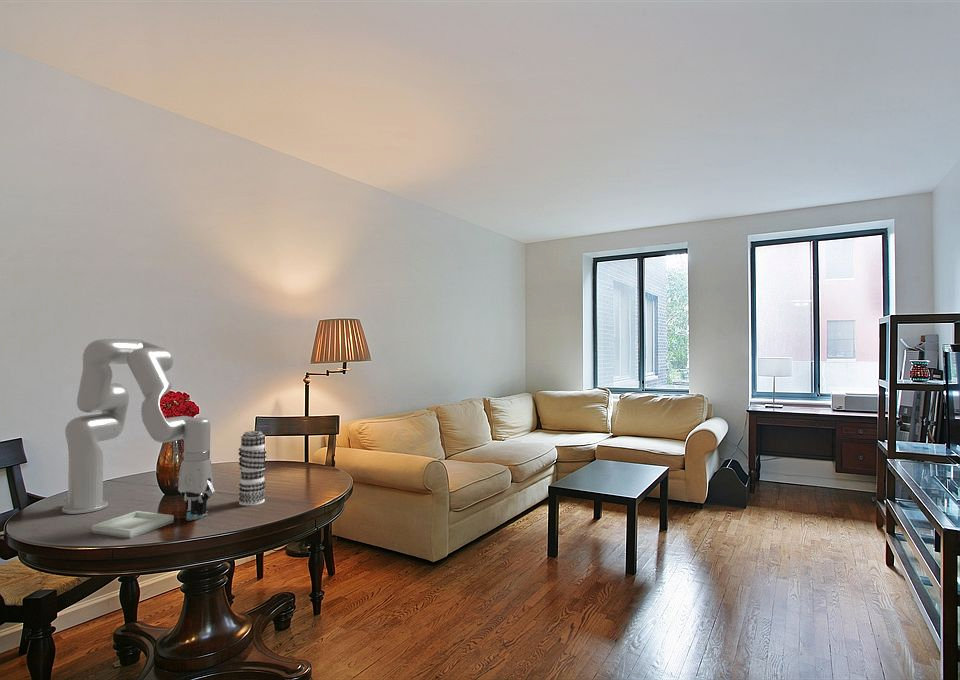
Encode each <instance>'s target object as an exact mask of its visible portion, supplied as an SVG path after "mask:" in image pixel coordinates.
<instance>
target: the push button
mask: <svg viewBox="0 0 960 680" xmlns="http://www.w3.org/2000/svg"><path fill="white" fill-rule="evenodd" d="M185 493H186V496H187V497H188V509H187V511H186V510H185V513H184V515H185V516H184V519H185V520H186V521H187V522H189V521H193V520H194V521H195V520H198V519H203V518H204V516H207V515H209V514H208V512H209V511H207V510H206V513H204V514H202V515H197V503H199V498H198V496H199V494H195V493H190V492H185ZM202 495H203V496H204V494H202ZM191 498H192V500H191Z"/></svg>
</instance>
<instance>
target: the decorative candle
mask: <svg viewBox="0 0 960 680" xmlns="http://www.w3.org/2000/svg"><path fill="white" fill-rule="evenodd" d="M265 437H266V435H265V434H263V432H262V431H260V430H250V431H245V432H244V433H243V435H241V436H240V439H241V441H240V442H241V444H240V447H239V448H238V450H239V452H238V456H239V458H238V460H239V462H238V465H239V466H240V467H239V471H240V479H239V481H240V483H239V489H238V490H239V491H240V492H239V493H238V496H239V497H238V500H239V502H238V503H239V504H238V505H241V506H246V507H247V506H249V507H250V506H257V505H261V504H263V503H264V502H265V501H266V499H265V498H266V495H265V493H266V491H265V488H266V486H265V484H266V481H265V475H264V473H265V472H264V470H266V465H265V464H266V463H267V461H265V459H266V458H267V456H266V454H267V451H265V447H266V446H265V445H266V444H265Z"/></svg>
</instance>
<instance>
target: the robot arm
mask: <svg viewBox="0 0 960 680" xmlns="http://www.w3.org/2000/svg"><path fill="white" fill-rule="evenodd" d="M173 358H174V357H173V355H172V353H171V352H170V351H169V350H168V349H166V348H164V347H162V346H159V345H156V344H153V343H150V342H147V341H144V340H140V339H131V338H130V339H129V338H125V339H124V338H102V339H95V340H93V341H90V343H88V345H86V347H85V349H84V350H83V353H82V372H81V377H80V382H79V388H78V393H77V398H76V405H77V408H78V410H79V411H80V412H83V413H95V414H88V415H81V416H78V417H75V418H73V419H71V420H70V421H69V422H68V423H67V424H66V426H65V431H64V434H65V439H66V443H67V449H68V489H67V493H68V494H67V495H66V496H64V497H62V502H66V505H65V506H63V507H62V510H61V511H62V513H64V514H69V515H75V514H77V515H78V514H86V513H92V512H96V511H100V510H104V509H105V508H106V507H108V505H109V502H108V501H107V500H104V496H103V492H104V491H103V490H104V488H103V487H104V453H103V451H102V449H101V447H100V445H99V444H98V443H100V442H104V441H109V440H113V439H116V438H117V437H119V436H120V434H121V433H122V432H123V430H124V427H125V422H126V418H127V412H128V408H129V402H130V395H129V391H128V389H127V388H126V386H125V385H123V384H121V383H117V382H112V379H113V370H112V367H111V366H110V365H125V364H127V365H128V367H129V369H130V372H131V373H132V375H133V376H134V379H135V381H136V383H137V385H138V387H139V388H140V390H141V393H142V395H143V400H142V403H141V408H140V409H141V411H140V416H141V421H142V424H143V425H144V428H145V430H146V431H147V433H148V435H149V436H150V438H152V439H153V440H154V441H155V442H156V443H157V442H158V443H160V444H162V443H163V444H164V443H165V444H166V443H169V442H174V441H179V440H183V452H182V457H183V460H182V461H181V464H180V467H179V473H178V483H177V484H178V486H177V487H178V488H177V491H178V492H179V493H180V494H181V495H182V496H183V500H184V502H185V511H187V509H188V497H187V496H186V493H185V492H190V493H195V494H199V496H198V498H199V503H197V515H202V514H203V515H204V514H207V512H206V511H207V503H208V501H209V499H210V498H211V497H212V496H214V495H215V494H216V491H215V489H214V474H213V465H212V461H211V459H210V458H211V421H210V419H209V418H207V417H193V416H188V415H180V416H172V417H167V418H166V417H165V415H164V414H163V411H162V409H161V406H160V405H161V404H160V401H161V398H162V397H163V396H165V395H166V394H168V393H169V392H170V391H171V389H172V383H171V381H170V379H169V377H168V376H167V373H166V372H167V371H169V370H171V369H172V367H173V365H174V359H173ZM100 412H101V413H100ZM96 413H97V414H96ZM202 494H203V495H202ZM198 498H197V499H198ZM191 500H192V498H191Z"/></svg>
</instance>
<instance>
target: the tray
mask: <svg viewBox="0 0 960 680" xmlns="http://www.w3.org/2000/svg"><path fill="white" fill-rule="evenodd" d="M174 518H175V516H174V515H173V514H167V513H166V514H164V513H158V512H157V513H156V512H149V511H141V510H134V511H133V512H129V513H126V514H123V515H121V516H117V517H113V518H110V519H108V520H104V521H101V522H98V523H95V524H92V525H91V534H98V535H105V536H111V537H118V538H125V539H133V538H135V537H138V536H140V535H143V534H146V533H149V532H151V531H155V530H156V529H159V528H162V527H165V526H167V525H171V524H173V523H174V521H175V519H174Z"/></svg>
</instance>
